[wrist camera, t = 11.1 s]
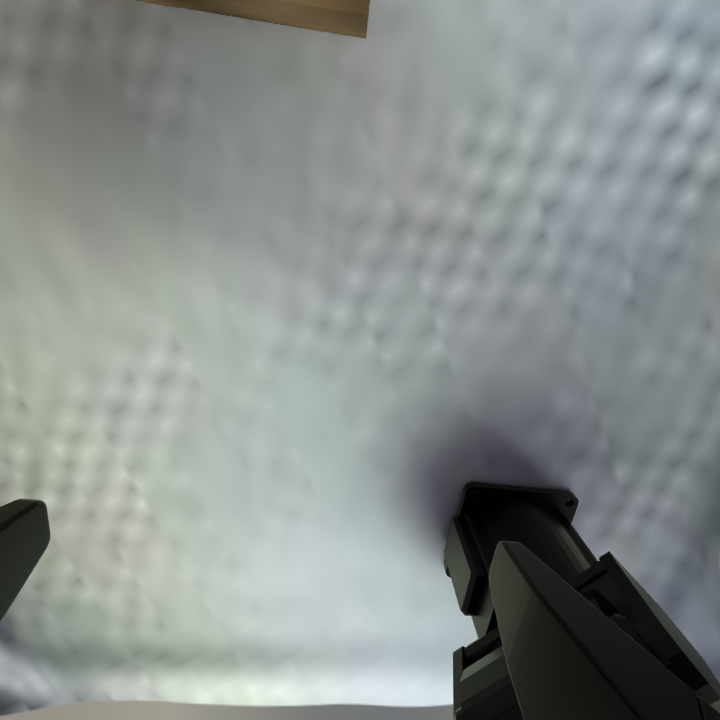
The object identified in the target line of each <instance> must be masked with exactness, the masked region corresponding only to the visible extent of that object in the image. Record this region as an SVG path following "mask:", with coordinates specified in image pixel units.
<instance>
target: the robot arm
mask: <svg viewBox="0 0 720 720" xmlns="http://www.w3.org/2000/svg"><path fill="white" fill-rule="evenodd" d="M474 490H476V492H475V493H472V494H471V493H470V492H471V491H474ZM567 500H569V501H568V502H566V501H567ZM577 506H578V499H577V498H576V496H575V495H574V494H573V493H572V492H569V491H559V490H549V489H538V488H528V487H518V486H508V485H497V484H487V483H477V482H471V483H468V484H467V485H466V486H465V487H464V489H463V493H462V497H461V501H460V505H459V509H458V513H457V515H456V516H454V518H453V519H452V521H451V525H450V529H449V533H448V538H447V542H446V546H445V550H444V554H445V557H446V561H445V572H446V574H447V576H449V577H451V579H452V582H453V586H454V589H455V593H456V596H457V600H458V603H459V607H460V610H461V611H462V613H463V614H464V615H468V616H472V620H473V623H474V626H475V629H476V633H477V636H478V640H476V641H474V642H473V643H471V644H470V645H468V646H467V647H463V646H462V647H461V648H459V649H458V650H456V651H455V652H453V699H454V720H720V683H719V682H718V680H717V679H716V677H715V676H714V674H713V673H712V671H711V670H710V668H709V667H708V665H707V664H706V662H705V661H704V659H703V658H702V657H701V656H700V654H699V653H698V652H697V651H696V650H695V648H694V647H693V646H692V645H691V643H690V642H689V641H688V640H687V639H686V637H685V636H684V635H683V634H682V632H681V631H680V630H679V629H678V628H677V626H676V625H675V624H674V623H673V622H672V620H671V619H670V618H669V617H668V615H667V614H666V613H665V612H664V611H663V609H662V608H661V607H660V606H659V605H658V604H657V603H656V602H655V601H654V599H653V598H652V597H651V596H650V595H649V594H648V593H647V592H646V591H645V590H644V589H643V588H642V586H641V585H640V584H639V583H638V582H637V581H636V580H635V579H634V578H633V577H632V576H631V575H630V573H629V572H628V571H627V570H626V569H625V568H624V567H623V566H622V565H621V564H620V563H619V561H618V560H617V559H616V558H615V557H614V556H613V555H612V554H611V553H610V552H607V553H606V554H604V555H603V556H601V557H600V558H599V559H600V561H597V559H596V558H595V557H594V555H593V554H592V552H591V551H590V550H589V548H588V547H587V545H586V544H585V543H584V541H583V540H582V539H581V537H580V536H579V534H578V533H577V532H576V530H575V529H574V527H573V526H572V525H571V522H572V520H573V517H574V514H575V511H576V509H577ZM49 540H50V528H49V521H48V513H47V507H46V504H45V503H44V502H43V501H41V500H32V499H18V500H15V501H13V502H11V503H8V504H6V505H3V506H1V507H0V622H1V620H2V619H3V617H4V616H5V614H6V613H7V611H8V609H9V608H10V606H11V605H12V603H13V601H14V600H15V598H16V597H17V595H18V593H19V592H20V590H21V589H22V587H23V585H24V584H25V582H26V580H27V579H28V577H29V576H30V574H31V572H32V571H33V569H34V568H35V566H36V564H37V563H38V561H39V560H40V558H41V556H42V555H43V553H44V551H45V550H46V548H47V546H48V544H49Z"/></svg>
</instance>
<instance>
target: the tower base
mask: <svg viewBox="0 0 720 720" xmlns="http://www.w3.org/2000/svg"><path fill="white" fill-rule="evenodd" d="M137 1H144V2H150V3H156V4H162V5H168V6H174V7H180V8H186V9H192V10H198V11H204V12H210V13H216V14H222V15H228V16H234V17H240V18H246V19H252V20H258V21H264V22H271V23H277V24H283V25H289V26H295V27H301V28H307V29H313V30H319V31H325V32H331V33H337V34H343V35H349V36H355V37H361V38H366V31H367V22H368V13H369V4H370V0H137Z"/></svg>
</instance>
